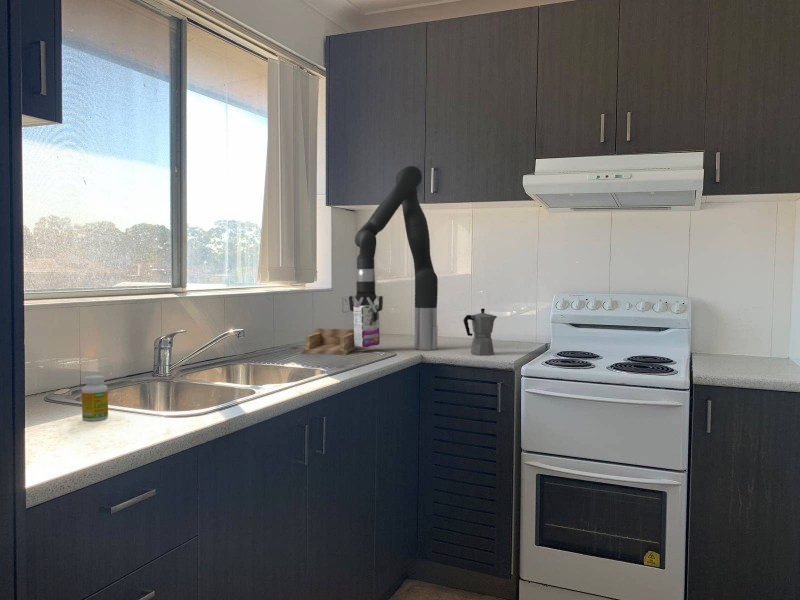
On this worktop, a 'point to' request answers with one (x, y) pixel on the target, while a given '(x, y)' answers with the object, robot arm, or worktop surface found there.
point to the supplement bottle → (94, 399)
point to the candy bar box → (365, 327)
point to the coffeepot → (481, 332)
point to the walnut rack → (330, 341)
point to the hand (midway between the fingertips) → (366, 321)
